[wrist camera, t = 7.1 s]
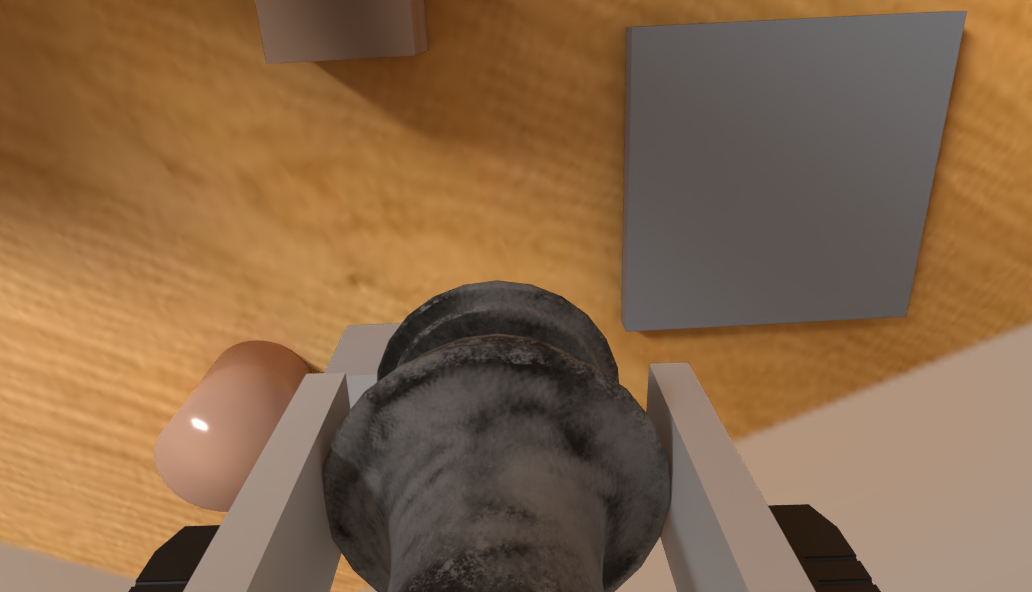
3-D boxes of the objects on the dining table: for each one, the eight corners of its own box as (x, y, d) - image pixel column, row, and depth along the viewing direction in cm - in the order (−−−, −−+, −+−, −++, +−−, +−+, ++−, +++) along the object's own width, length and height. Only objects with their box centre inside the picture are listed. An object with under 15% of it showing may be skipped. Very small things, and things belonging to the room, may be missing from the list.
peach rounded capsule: (218, 428, 33) (165, 512, 28) (203, 340, 31) (143, 410, 26) (319, 429, 34) (287, 511, 28) (311, 341, 32) (274, 410, 26)
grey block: (361, 414, 33) (340, 478, 29) (347, 324, 31) (322, 377, 27) (461, 409, 33) (455, 471, 29) (453, 319, 32) (445, 370, 27)
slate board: (621, 320, 32) (625, 331, 31) (626, 27, 27) (632, 27, 26) (891, 306, 32) (906, 316, 31) (947, 11, 27) (967, 11, 26)
